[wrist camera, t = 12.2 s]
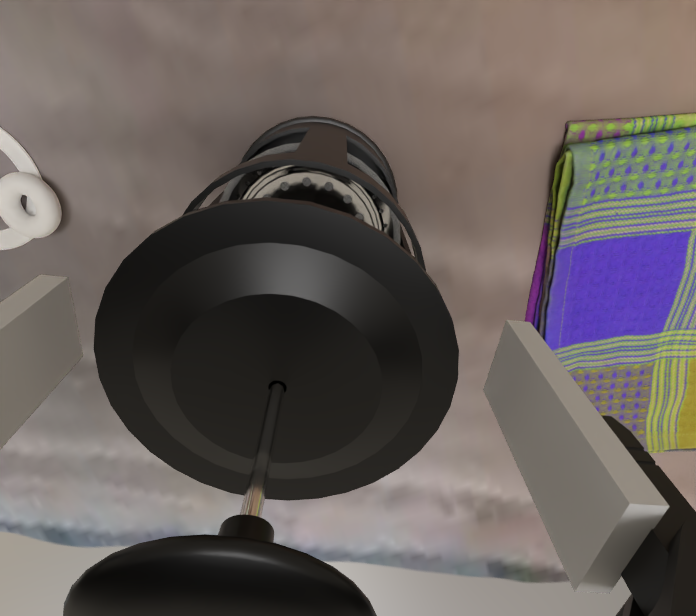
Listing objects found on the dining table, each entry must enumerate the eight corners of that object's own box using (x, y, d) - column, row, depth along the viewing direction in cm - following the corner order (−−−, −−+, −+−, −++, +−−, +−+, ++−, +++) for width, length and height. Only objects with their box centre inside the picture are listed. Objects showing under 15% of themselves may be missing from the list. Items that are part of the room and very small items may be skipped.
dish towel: (873, 100, 24) (933, 103, 22) (721, 435, 36) (749, 461, 33) (548, 120, 24) (571, 126, 22) (502, 445, 36) (513, 473, 34)
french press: (244, 84, 23) (-493, 176, 3) (419, 123, 24) (831, 409, 4) (226, 285, 28) (-68, 821, 8) (369, 311, 29) (427, 847, 9)
